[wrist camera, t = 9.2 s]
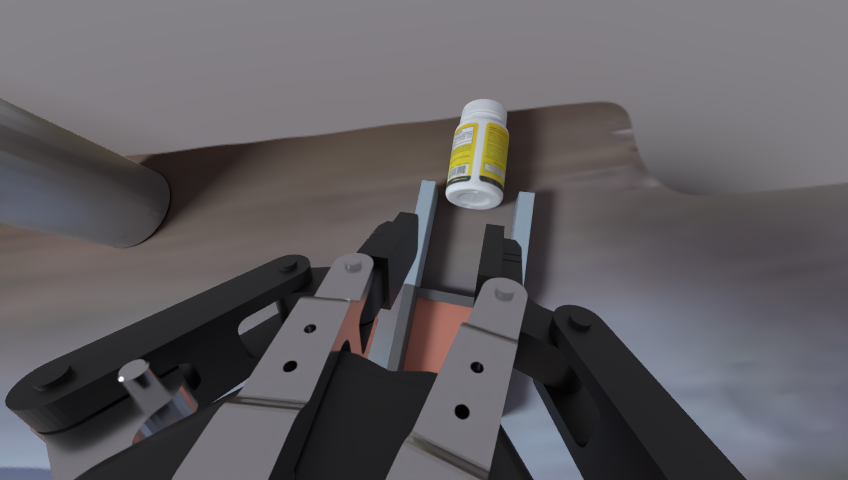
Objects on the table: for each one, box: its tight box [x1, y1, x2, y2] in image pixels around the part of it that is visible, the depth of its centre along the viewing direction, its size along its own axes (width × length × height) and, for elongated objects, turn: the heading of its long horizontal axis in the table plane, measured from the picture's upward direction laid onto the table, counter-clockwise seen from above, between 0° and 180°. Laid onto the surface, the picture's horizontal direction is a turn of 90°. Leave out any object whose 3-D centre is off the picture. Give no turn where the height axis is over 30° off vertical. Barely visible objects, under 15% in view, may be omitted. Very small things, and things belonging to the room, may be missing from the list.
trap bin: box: [387, 283, 501, 423], centre depth 24 cm, size 9×9×2 cm
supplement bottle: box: [446, 99, 509, 209], centre depth 26 cm, size 5×5×8 cm
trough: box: [403, 180, 535, 287], centre depth 26 cm, size 9×9×2 cm
